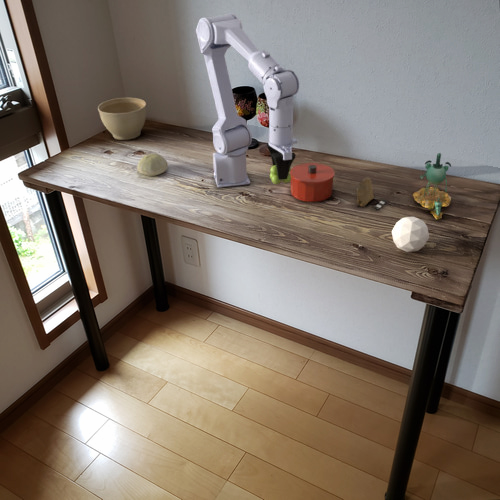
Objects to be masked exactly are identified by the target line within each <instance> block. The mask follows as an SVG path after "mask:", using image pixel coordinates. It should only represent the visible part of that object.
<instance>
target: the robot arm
mask: <svg viewBox="0 0 500 500" xmlns="http://www.w3.org/2000/svg"><path fill="white" fill-rule="evenodd" d="M195 33H196V37H197V41H198V46H199V50H200V53H201V54H202V55H203V59H204V62H205V67H206V71H207V76H208V79H209V83H210V88H211V92H212V96H213V100H214V104H215V105H214V106H215V109H216V113H217V117H218V119H217V120H216V122H215V124H214V125H213V127H212V128H211V130H212V137H213V138H212V143H213V148H214V149H215V151H216V152H213V153H212V162H213V163H212V164H213V178H214V180H215V184H216V187H217V188H227V187H228V188H229V187H235V186H236V187H237V186H246V185H250V184H251V180H250V178H249V176H248V170H247V151H249V146H251V144H252V141H253V135H252V132H251V130H250V128H249V126H248V124H247V120H246V119H245V118H243V117H242V116H240V115H239V114H238V112H237V111H238V110H237V106H236V102H235V98H234V94H233V89H232V84H231V80H230V75H229V70H228V66H227V62H226V57H225V56H226V53H227V51H228V50H229V49H230V48H231V47H232V48H233V49H234V50H235V51H236V52H238V53H239V54H240V55H241V56H242V57H243V58H244V59H245V61H247V62H248V64H247V66H248V70H249V71H250V72H251V73H252V74H253V75H254V76H255V78H256V79H257V80H258V81H259V82H260V83H261V84H262V86H263V92H264V94H265V97H266V104H267V106H268V116H269V117H268V122H269V123H268V129H269V130H268V142H267V143H266V147H267V150H268V152H269V154H270V158H271V163H272V166H274V165H276V168H277V175H278V178H279V180H281V181H282V179H287V177H288V173H289V174H290V172H289V170H290V167H291V166H292V164H293V163H294V161H295V159H296V156H297V155H296V153H295V152H293V151H292V149H293V146H294V144H298V139H297V138H296V137H293V133H294V131H293V130H294V129H293V128H294V96H296V94H298V93H299V90H300V81H299V78H298V76H297V74H296V72H295V71H293V69H292V70H291V69H286V68H285V67H284V68H283V67H282V66H281V65H280V64H279V63H278V62H277V61H276V60H275V59H274V58H273V56H272V55H271V53H270V52H269V51H266V50H262V49H261V50H259V49H258V48H257V47H256V45H255V44H254V43H253V41H252V40H251V39H250V37H249V36H248V34H247V33H246V32H245V31H244V30H243V24H242V20H240V19H239V17H238V16H237V15H236V14H235V13H233V12H229V13H226V14H220V15H215V16H209V17H201V18H200V19H199V20H198V22H197V26H196V29H195Z"/></svg>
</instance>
